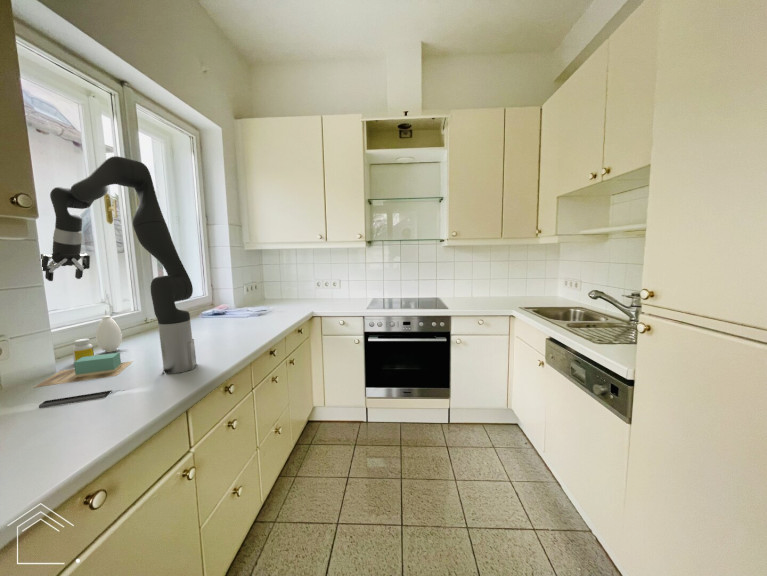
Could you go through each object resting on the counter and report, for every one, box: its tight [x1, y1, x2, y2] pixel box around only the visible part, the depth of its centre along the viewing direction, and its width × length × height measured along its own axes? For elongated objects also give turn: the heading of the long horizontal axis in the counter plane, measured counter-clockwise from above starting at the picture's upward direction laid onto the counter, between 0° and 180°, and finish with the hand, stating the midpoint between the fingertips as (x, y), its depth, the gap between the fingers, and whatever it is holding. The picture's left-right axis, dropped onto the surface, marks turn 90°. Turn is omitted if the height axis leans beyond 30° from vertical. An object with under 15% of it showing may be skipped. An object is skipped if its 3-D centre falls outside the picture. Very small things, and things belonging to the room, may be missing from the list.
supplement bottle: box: [72, 338, 95, 363], centre depth 112 cm, size 5×5×10 cm
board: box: [33, 360, 134, 388], centre depth 101 cm, size 20×14×2 cm
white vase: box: [95, 309, 123, 353], centre depth 127 cm, size 8×8×18 cm
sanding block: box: [73, 352, 122, 377], centre depth 102 cm, size 10×6×5 cm, turn 112°
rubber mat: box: [38, 390, 114, 409], centre depth 88 cm, size 14×10×1 cm
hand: (64, 279), depth 120 cm, fingers open, 8 cm apart
